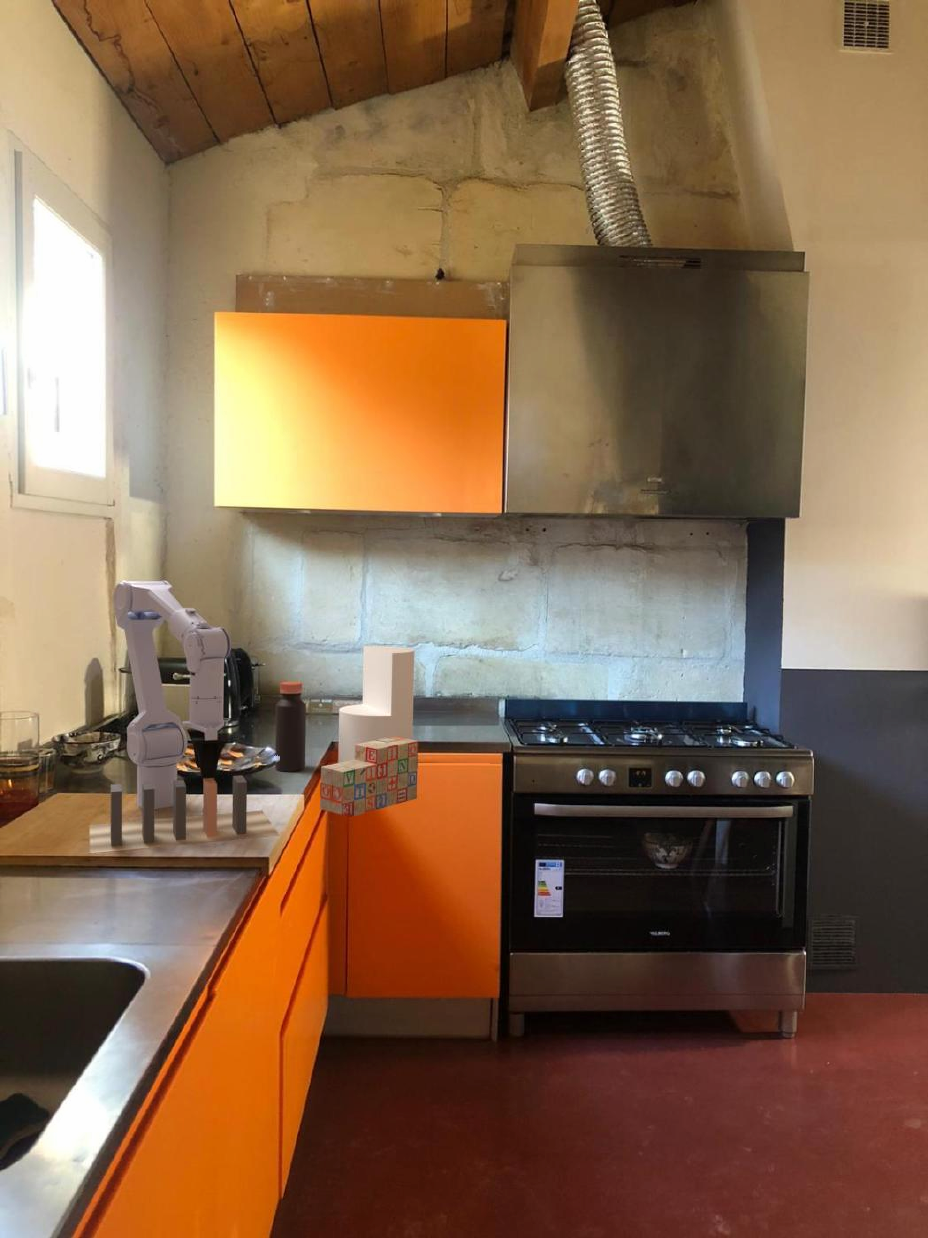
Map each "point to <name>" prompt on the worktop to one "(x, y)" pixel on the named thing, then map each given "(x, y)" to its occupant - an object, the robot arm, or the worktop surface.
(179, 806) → the domino
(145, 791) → the domino
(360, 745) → the stack of blocks
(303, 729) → the bottle
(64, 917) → the worktop surface
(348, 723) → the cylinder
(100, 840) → the birch board
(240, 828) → the end domino
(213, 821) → the domino
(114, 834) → the domino
